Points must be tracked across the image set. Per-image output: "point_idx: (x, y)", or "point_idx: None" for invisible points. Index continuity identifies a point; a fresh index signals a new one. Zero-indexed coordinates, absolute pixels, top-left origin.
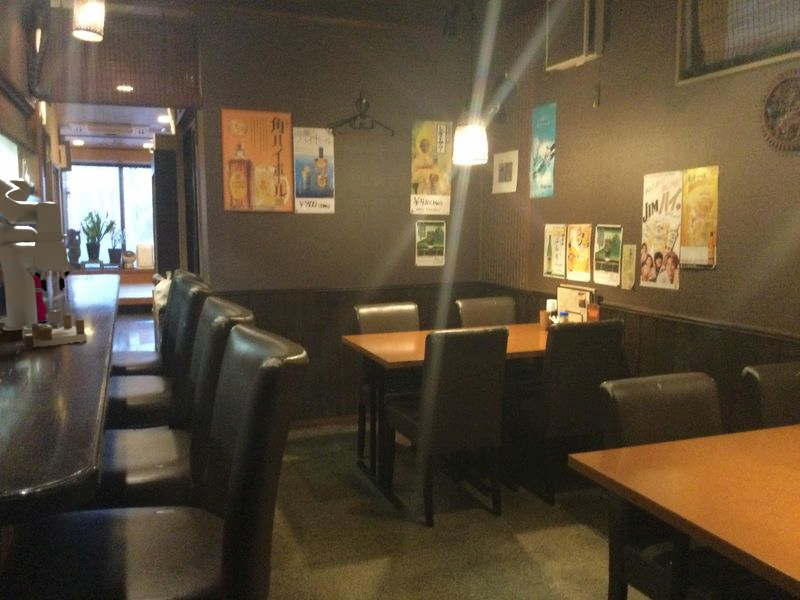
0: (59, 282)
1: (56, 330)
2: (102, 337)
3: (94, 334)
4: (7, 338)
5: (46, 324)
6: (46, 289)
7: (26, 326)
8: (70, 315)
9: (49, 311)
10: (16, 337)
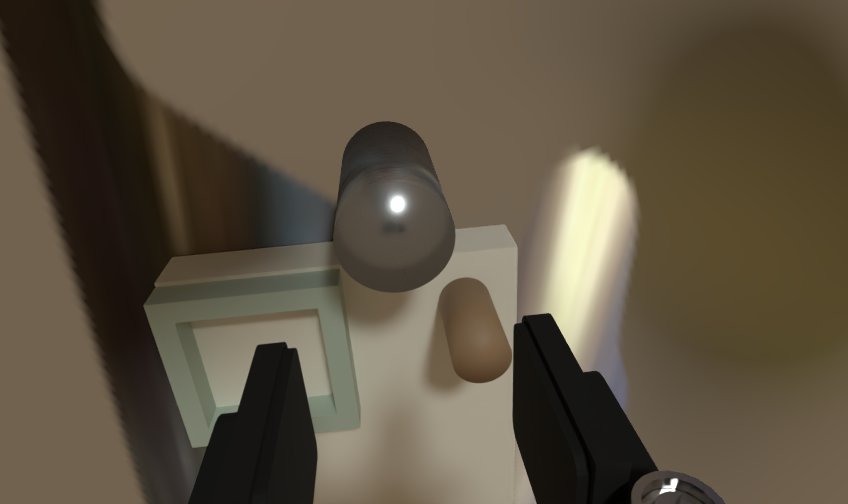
0: (550, 451)
1: (385, 385)
2: None
3: (592, 332)
4: (61, 219)
5: (321, 298)
6: (312, 473)
7: (179, 320)
8: (503, 368)
9: (345, 253)
10: (118, 204)
